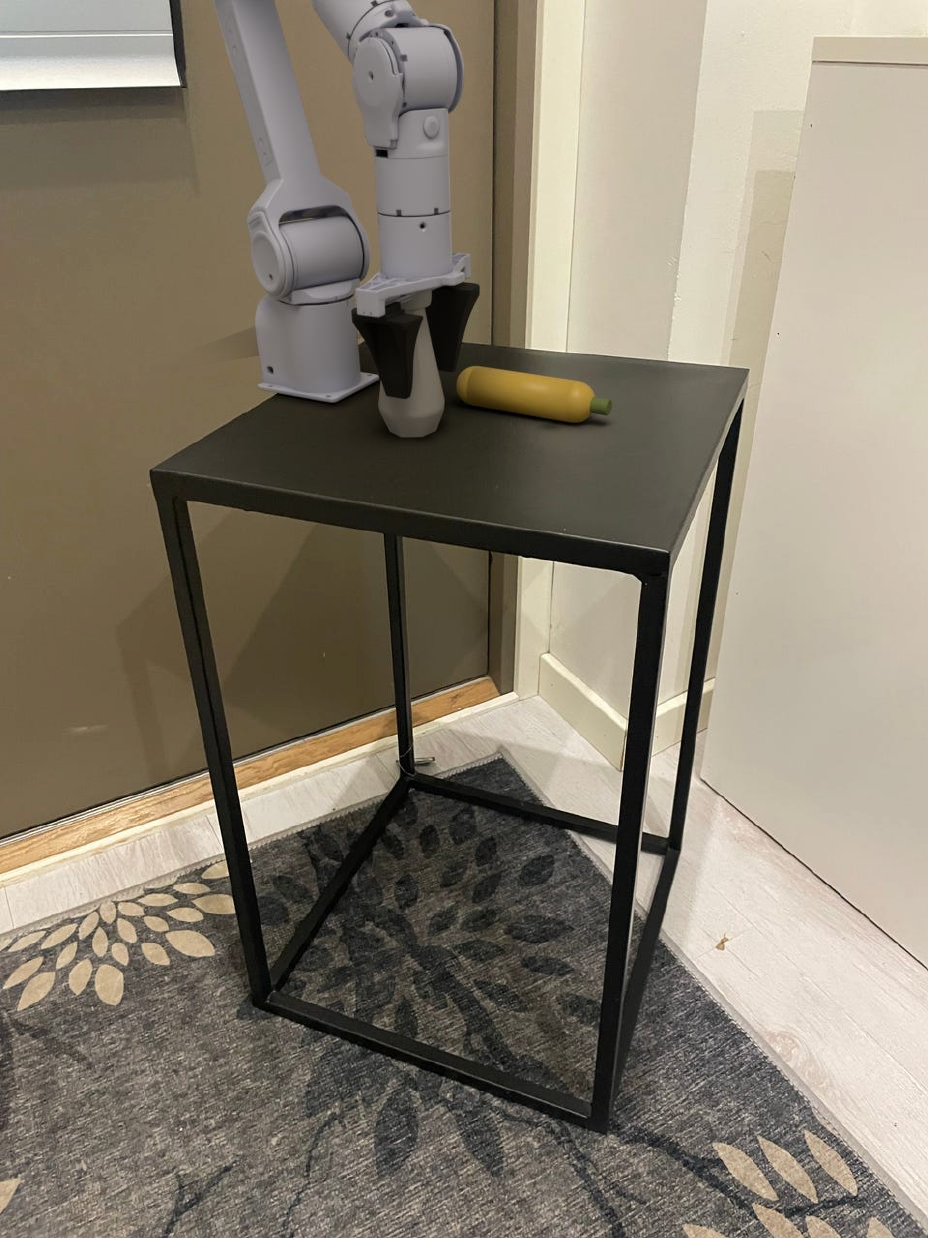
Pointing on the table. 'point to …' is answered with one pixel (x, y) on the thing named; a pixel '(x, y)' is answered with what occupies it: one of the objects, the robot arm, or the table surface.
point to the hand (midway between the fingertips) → (421, 382)
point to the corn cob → (530, 394)
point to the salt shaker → (417, 383)
